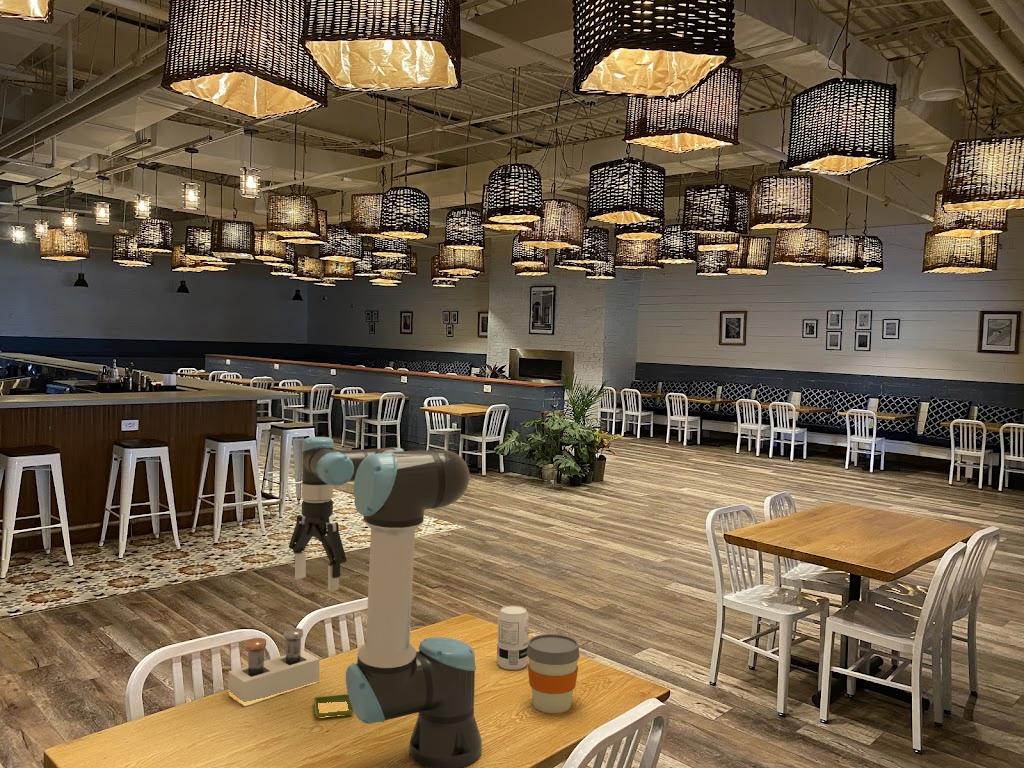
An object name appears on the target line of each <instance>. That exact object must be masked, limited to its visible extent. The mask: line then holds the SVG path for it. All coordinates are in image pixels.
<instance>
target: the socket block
mask: <svg viewBox="0 0 1024 768" xmlns="http://www.w3.org/2000/svg"><path fill="white" fill-rule="evenodd" d="M227 678H228V683H227V684H228V686H227V687H228V690H230V691H229V692H231V693H233V695H235V696H236V697H237V698H239V699H240V700H242V701H243V702H247V701H252V700H256V699H260V698H265V697H268V696H271V695H274V694H277V693H281V692H284V691H287V690H291V689H294V688H298V687H301V686H304V685H307V684H310V683H313V682H317V681H319V682H320V659H319V658H318V657H316V656H314V655H313V654H311V653H309V652H307V651H305V650H303V649H301V662H299V663H296V664H293V665H288V664H286V654H285V655H281V656H277V657H274V658H271V659H267V660H264V673H263V674H259V675H256V676H253V677H251V676H249V675H248V665H246V666H243V667H240V668H236V669H233V670H230V671H228V677H227Z"/></svg>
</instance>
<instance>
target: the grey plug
mask: <svg viewBox="0 0 1024 768" xmlns="http://www.w3.org/2000/svg"><path fill="white" fill-rule="evenodd" d="M303 630H304V629H302V628H299V627H298V628H297V627H293V628H288V629H285V630H283V638H284V639H285V655H286V664H288V665H293V664H296V663H299V662H301V650H302V648H301V646H302V644H301V643H302V642H301V641H302V638H303V636H304V635H303V634H304V631H303Z"/></svg>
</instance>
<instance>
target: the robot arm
mask: <svg viewBox="0 0 1024 768" xmlns="http://www.w3.org/2000/svg"><path fill="white" fill-rule="evenodd" d="M334 443H335V442H334V440H333V438H331V437H330V436H328V437H326V436H311V437H306V438H304V440H303V441H302V451H301V459H302V460H301V466H302V467H301V469H302V470H301V480H302V481H301V499H303V500H302V502H301V514H298V515H296V523H295V526H294V529H293V533H292V536H291V537H290V541H289V543H288V548H289V549H290V550H292V552H293V554H294V580H296V581H297V580H300V579H304V578H306V577H307V573H306V571H307V570H306V568H307V567H306V566H307V552H306V547H307V546H308V544H309V543H310V541H311V539H312V538H315V539H317V540H318V541H319V542H321V544H322V546H323V549H324V552H325V553H326V556H327V558H328V561H329V563H328V565H327V566H328V567H327V569H328V570H327V571H328V574H327V591H328V592H333V591H337V590H339V589H340V577H341V564H343V563H346V562H347V560H348V559H347V556H346V552H345V549H344V546H343V545H344V544H343V542H342V538H341V535H340V532H339V531H340V528H339V526H340V525H339V522H330V517H331V516H333V513H334V512H333V511H334V501H333V498H334V486H336V487H338V486H343V485H345V484H347V483H350V482H353V497H354V501H353V502H354V506H355V509H356V511H357V512H358V513H359V515H361V516H363V522H364V523H365V524H366V526H367V527H369V529H370V541H369V542H370V546H369V564H368V565H369V566H368V567H369V568H368V569H369V572H368V587H367V588H368V589H367V611H366V632H365V633H366V634H365V643H364V644H363V645H361V647H360V648H359V649H358V651H357V661H356V663H351V664H350V665H348V666H347V668H346V671H345V686H346V691H347V694H348V696H349V699H350V703H351V706H352V708H353V710H354V711H353V713H354V715H355V716H356V717H357V719H358V720H359V721H360V722H361V723H363V724H366V725H369V724H374V723H375V724H376V723H380V722H381V723H385V721H388V720H393V719H398V718H402V717H405V716H409V715H414V714H417V715H418V716H417V718H416V722H415V725H414V727H413V730H412V734H411V737H410V738H409V739H410V741H409V755H410V758H411V759H412V761H414V762H415V763H416V764H418V765H420V766H422V767H424V768H464V767H467V766H469V765H471V764H473V763H474V762H475V761H477V760H478V759H479V758H480V757H481V754H482V748H483V745H482V744H483V743H482V741H483V740H482V735H481V733H480V730H479V727H478V723H477V720H476V717H475V689H476V688H475V684H476V683H475V681H476V680H475V679H476V675H475V674H476V669H477V667H476V657H475V651H474V649H473V647H471V645H469V644H468V643H466V642H465V641H462V640H460V639H456V638H451V637H441V636H440V637H439V636H435V637H427V638H425V639H423V640H421V641H420V643H419V645H418V650H416V648H415V647H414V646H413V644H411V643H410V641H411V640H410V636H411V632H410V631H411V620H412V619H411V617H412V616H411V615H412V602H413V601H412V599H413V597H412V596H413V583H414V582H413V580H414V577H413V576H414V560H415V541H416V530H417V529H418V528H420V526H422V524H423V523H424V521H425V520H424V519H425V511H426V510H431V509H432V510H434V509H441V508H444V507H447V506H450V505H452V504H454V503H455V502H458V500H459V499H460V498H462V497H463V496H464V494H465V493H466V491H467V489H468V486H469V484H470V483H469V482H470V469H469V467H468V464H467V463H466V461H465V460H464V458H462V457H461V455H459V454H458V453H457V452H456V453H455V452H453V451H450V450H447V449H429V450H427V449H426V450H407V451H406V450H404V449H403V448H401V447H385V448H384V447H383V448H381V447H380V448H368V449H367V448H366V449H348V450H347V449H345V450H335V444H334Z"/></svg>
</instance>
